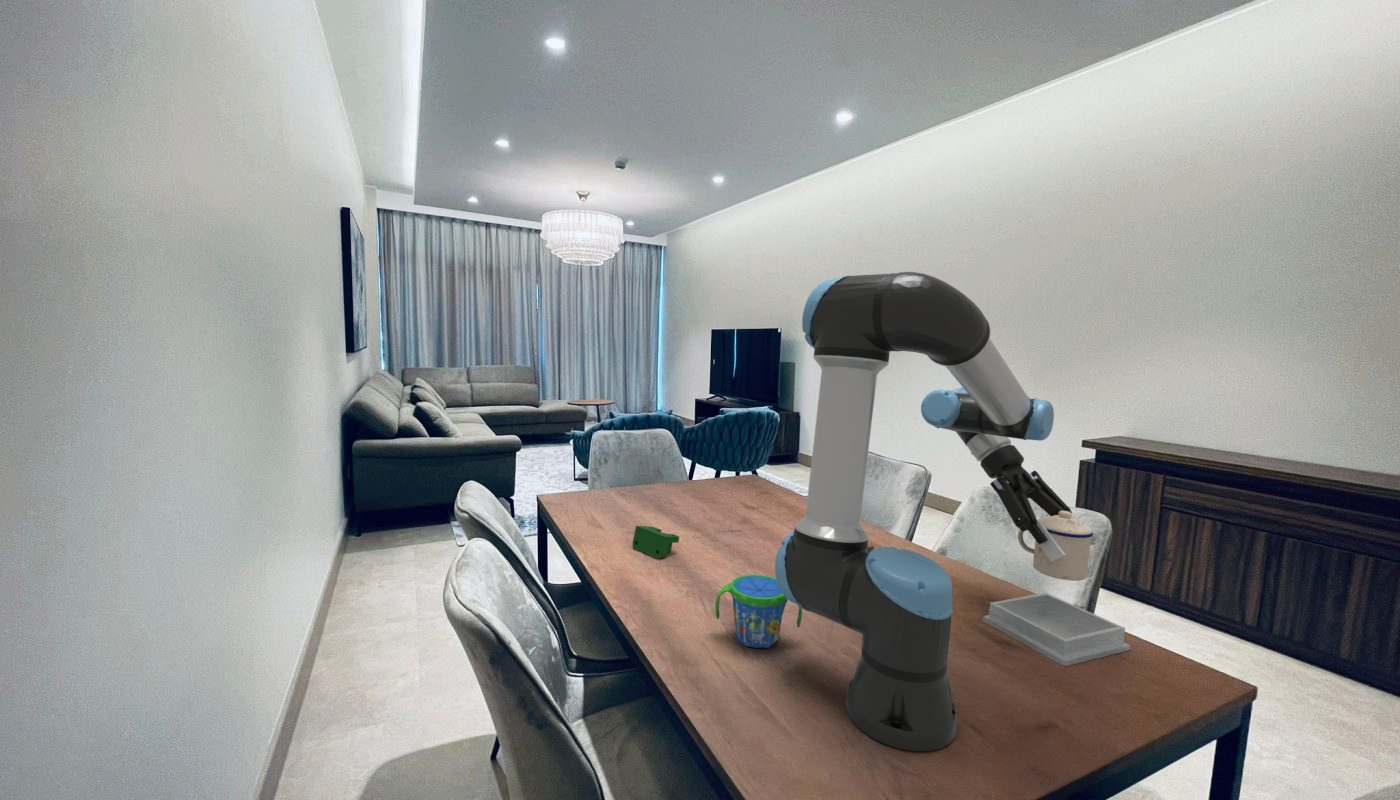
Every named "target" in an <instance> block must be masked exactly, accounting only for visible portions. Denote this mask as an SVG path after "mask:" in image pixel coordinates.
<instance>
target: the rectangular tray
mask: <svg viewBox="0 0 1400 800" xmlns="http://www.w3.org/2000/svg"><path fill="white" fill-rule="evenodd" d="M988 610H989V611H988V615H983V616H982V622H983V623H986V624H988V625H990V626H991V627H993V628H995V629H996V630H998V631H1000V632H1002V633H1004V634H1005V635H1007V636H1009V637H1011V638H1012V639H1015V640H1016V641H1018V642H1020V643H1021V644H1023V645H1025V646H1027V647H1029V648H1031V649H1033V650H1034V651H1036V652H1037V653H1039V654H1041V655H1043V656H1045V657H1047V658H1048V659H1050V660H1052V661H1054V662H1056V663H1058V664H1059V665H1061V666H1062V667H1068V666H1071V665H1075V664H1081V663H1085V662H1088V661H1092V660H1095V659H1101V658H1103V657H1108V656H1112V655H1116V654H1121V653H1124V652H1128V651H1130V650H1131V649H1130V648H1131V645H1130V644H1129V643H1127V642H1125V633H1126V627H1124V626H1121V625H1119V624H1117V623H1115V622H1112V621H1110V620H1109V619H1105V618H1103V617H1101V616H1100V615H1097V614H1096V613H1092V612H1090V611H1089V610H1085V609H1083V608H1081V607H1079V606H1076V605H1074V604H1073V603H1070V602H1069V601H1066V600H1063V599H1061V598H1059V597H1058V596H1057V597H1056V596H1055V595H1052V594H1050V593H1048V592H1042V593H1038V594H1031V595H1025V596H1021V597H1019V596H1018V597H1014V598H1008V599H1004V600H998V601H993V602H990V603H989V609H988Z"/></svg>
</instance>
